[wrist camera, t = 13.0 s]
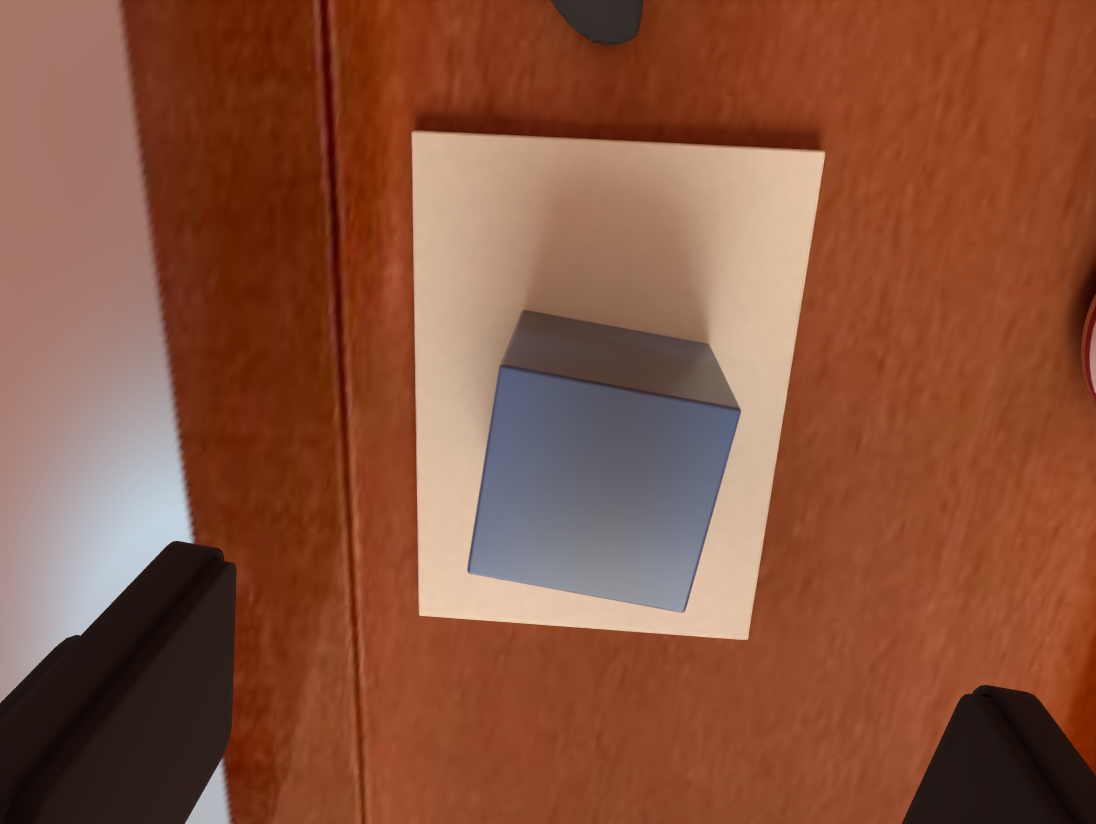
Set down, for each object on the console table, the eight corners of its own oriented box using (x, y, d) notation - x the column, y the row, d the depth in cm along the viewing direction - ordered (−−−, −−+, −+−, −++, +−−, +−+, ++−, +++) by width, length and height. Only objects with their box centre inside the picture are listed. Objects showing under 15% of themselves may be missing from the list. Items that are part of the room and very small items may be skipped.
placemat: (415, 130, 20) (410, 130, 19) (820, 150, 19) (826, 151, 19) (421, 606, 25) (418, 616, 24) (745, 630, 24) (748, 641, 24)
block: (493, 479, 22) (465, 574, 18) (522, 308, 21) (499, 364, 16) (667, 511, 22) (685, 614, 18) (710, 343, 21) (743, 409, 16)
